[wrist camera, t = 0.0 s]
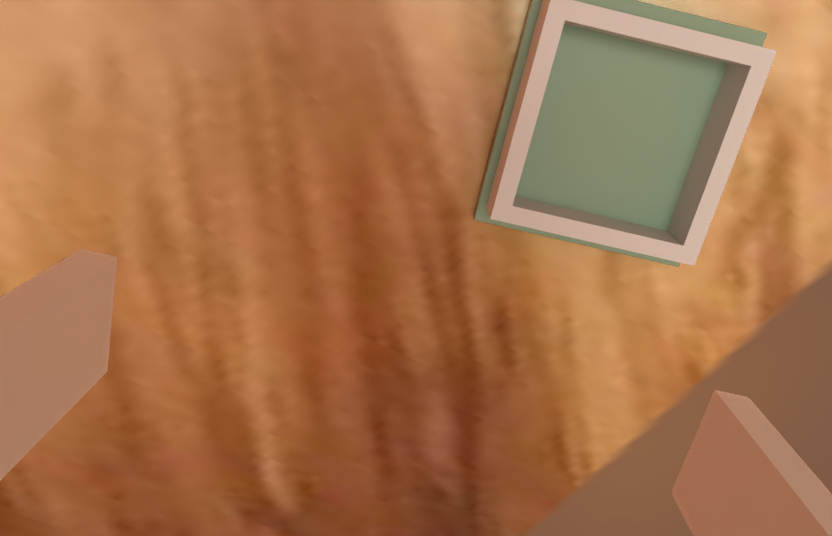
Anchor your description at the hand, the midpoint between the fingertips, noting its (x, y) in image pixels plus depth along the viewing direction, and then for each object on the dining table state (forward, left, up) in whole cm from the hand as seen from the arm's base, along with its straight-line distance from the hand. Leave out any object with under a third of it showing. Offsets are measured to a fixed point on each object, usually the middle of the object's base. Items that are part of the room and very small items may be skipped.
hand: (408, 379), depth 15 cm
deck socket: (-4, +10, -28) cm, 30 cm away
